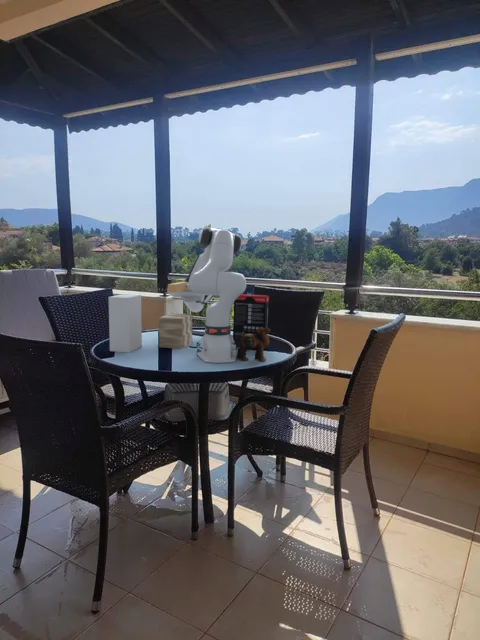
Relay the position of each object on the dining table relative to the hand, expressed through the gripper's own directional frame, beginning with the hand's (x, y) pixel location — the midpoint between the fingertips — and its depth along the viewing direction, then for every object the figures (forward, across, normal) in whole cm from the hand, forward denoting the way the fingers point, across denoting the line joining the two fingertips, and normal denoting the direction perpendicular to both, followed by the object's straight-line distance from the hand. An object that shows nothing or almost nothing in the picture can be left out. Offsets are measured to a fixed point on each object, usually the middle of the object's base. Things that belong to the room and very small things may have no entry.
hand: (182, 285), depth 231 cm
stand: (+7, -20, +39) cm, 44 cm away
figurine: (+11, +44, +41) cm, 61 cm away
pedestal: (-7, 0, +31) cm, 31 cm away
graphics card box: (-11, +38, +29) cm, 49 cm away
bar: (+4, 0, +5) cm, 6 cm away
